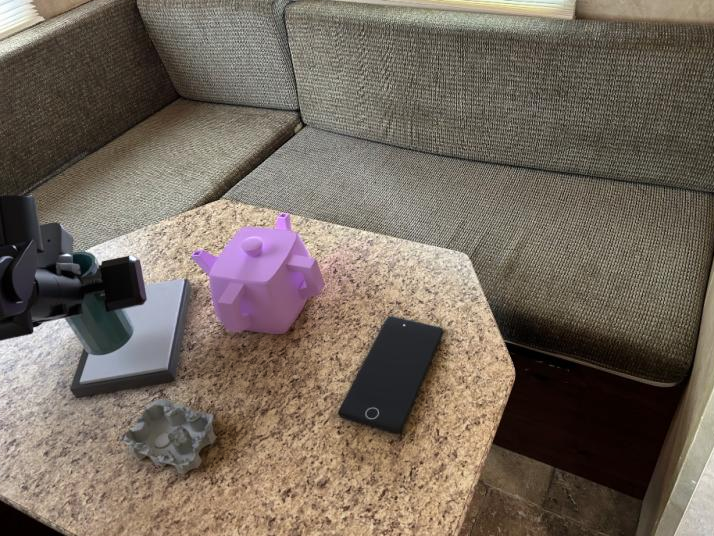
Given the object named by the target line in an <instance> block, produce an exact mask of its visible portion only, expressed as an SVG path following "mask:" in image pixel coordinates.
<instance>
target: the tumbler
mask: <svg viewBox="0 0 714 536" xmlns="http://www.w3.org/2000/svg"><path fill="white" fill-rule="evenodd" d="M73 264H77V265H79V267H80V273H81V275H78V276H77V278H78V277H83V276H88V275H93V274H95V273H96V271H97V269H98V268H99V265H101V264H100V263H99V260H98V259H97V257H96V256H95V255H94V254H93V253H92V252H88V251H73ZM99 280H101V279H99ZM95 283H98V282H97V281H96V282H95ZM95 283H94V282H92V283H90V282H89V284H87V283H86V285H91V284H95ZM86 285H84V284H83V286H86ZM82 311H83V314H82V315H77V316H72V317H67V318H63V319H64V321H66V323H67V325H68V327H69V328H70V329H71V331H72V333H73V334H74V335H75V337H76V338H77V341H78V342H79V343H80V344H81V346H82V348H83V349H85V350H86V351H87V352H88V353H89V354H91V355H97V356H100V355H106V354H109V353H112V352H114V351H116V350H118V349H120V348H121V347H123V346H124V345H125V344H126V343H127V342H128V341H129V340H130V338H131V337H132V335H133V331H134V327H133V324H132V322H131V320H130V318H129V316H128V314H127V313H126V311H125V309H120V310H114V311H110V312H106V308H105V302H104V296H100V292H98V293H93V294H88V295H84V301H83V303H82Z"/></svg>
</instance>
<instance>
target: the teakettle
mask: <svg viewBox="0 0 714 536" xmlns="http://www.w3.org/2000/svg"><path fill="white" fill-rule="evenodd" d="M190 258H191V259H192V260H193V262H194V263H195V264H196V265H198V267H199V268H200V269H201V270H203V272H204V273H205V275H207V276H208V278H209V289H210V290H209V291H210V295H211V296H210V297H211V301H212V307H213V309H214V312H215V315H216V318H217V319H218V320H219V322H221V324H222V325H223V326H224V329H225V331H226V332H233V333H241V332H243V331H247V332H254V333H261V334H269V335H283V334H286V333H287V332H288V331H289V330H290V328H291V327H292V326H293V325H294V323H295V321H296V320H297V319H298V317H299V315H300V314H301V312H302V311H303V309H304V307H305V305H306V303H307V300H308V299H309V298H313V297H316V296H318V295H321V293H322V291H323V289H324V287H325V286H326V282H325V279H324V277H323V274H322V271H321V269H320V266H319V263H318V261H317V258H316V257H311V254H310V252H309V250H308V248H307V246H306V244H305V242H304V240H303V239H302V237H301V235H300V234H299V233H298V232H297V231H293V230H292V225H291V215H290V213H288V212H281V213H280V214H279V215H277V217H276V222H275V226H274V228H272V227H271V228H270V227H260V226H243V227H242V228H240V229H239V230H238V231H237V232H236V233H235V234H234V236H233V237H232V238H231V239H230V240H229V241H228V242H227V244H226V245H225V247H224V248H223V249H222V251H221V252H220V254H219V255H218V256H216V255H214V254H212V253H209V252H207V251H205V249H197V250H194V251H193V252H192V253H191V254H190Z"/></svg>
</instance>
